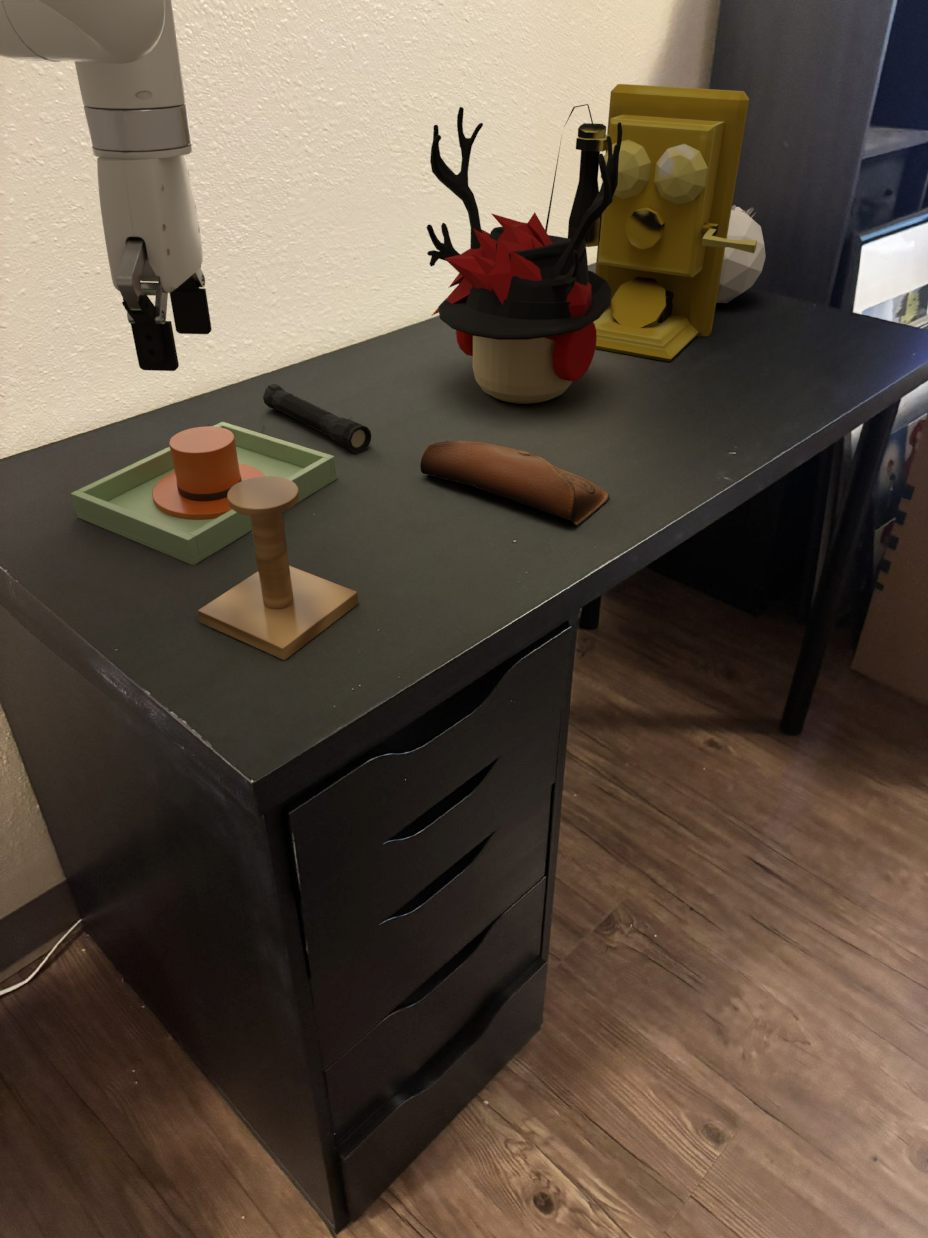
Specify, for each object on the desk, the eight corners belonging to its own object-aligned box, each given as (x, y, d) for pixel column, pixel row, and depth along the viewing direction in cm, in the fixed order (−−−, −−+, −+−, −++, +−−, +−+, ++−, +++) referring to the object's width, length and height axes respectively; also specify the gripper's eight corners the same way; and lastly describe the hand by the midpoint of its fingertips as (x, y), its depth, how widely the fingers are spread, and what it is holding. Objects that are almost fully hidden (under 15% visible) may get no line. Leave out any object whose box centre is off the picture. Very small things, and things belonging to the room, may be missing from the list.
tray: (193, 565, 79) (188, 540, 78) (77, 517, 86) (70, 493, 85) (336, 479, 93) (334, 455, 91) (226, 443, 100) (222, 421, 98)
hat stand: (284, 661, 69) (266, 534, 62) (199, 622, 73) (174, 500, 66) (358, 603, 75) (349, 483, 68) (276, 571, 79) (260, 454, 72)
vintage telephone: (504, 332, 129) (510, 90, 112) (545, 306, 139) (557, 79, 122) (720, 372, 117) (766, 106, 100) (749, 340, 127) (795, 93, 109)
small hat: (210, 531, 83) (200, 476, 80) (128, 499, 88) (116, 446, 85) (291, 484, 90) (285, 432, 87) (212, 457, 95) (203, 407, 92)
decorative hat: (644, 387, 113) (677, 112, 95) (555, 446, 99) (575, 138, 81) (493, 349, 124) (498, 96, 106) (394, 398, 110) (380, 117, 92)
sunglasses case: (615, 491, 89) (604, 449, 84) (582, 548, 88) (568, 510, 82) (466, 445, 98) (447, 405, 92) (433, 497, 96) (411, 459, 90)
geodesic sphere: (741, 242, 148) (710, 169, 138) (804, 263, 137) (775, 186, 128) (674, 308, 149) (638, 241, 139) (732, 334, 138) (697, 263, 129)
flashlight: (350, 456, 97) (348, 430, 95) (263, 411, 107) (260, 386, 105) (372, 448, 99) (370, 422, 97) (284, 404, 108) (281, 380, 106)
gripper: (131, 117, 78) (167, 319, 87) (44, 146, 63) (98, 384, 73) (218, 119, 77) (244, 321, 87) (150, 148, 63) (190, 386, 73)
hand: (177, 350), depth 80 cm, fingers open, 9 cm apart
